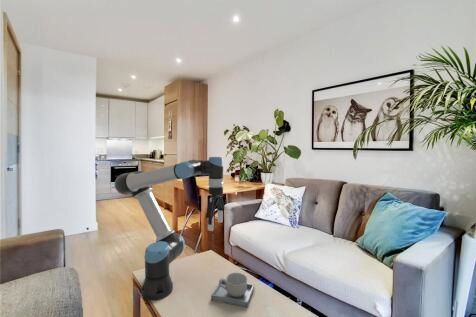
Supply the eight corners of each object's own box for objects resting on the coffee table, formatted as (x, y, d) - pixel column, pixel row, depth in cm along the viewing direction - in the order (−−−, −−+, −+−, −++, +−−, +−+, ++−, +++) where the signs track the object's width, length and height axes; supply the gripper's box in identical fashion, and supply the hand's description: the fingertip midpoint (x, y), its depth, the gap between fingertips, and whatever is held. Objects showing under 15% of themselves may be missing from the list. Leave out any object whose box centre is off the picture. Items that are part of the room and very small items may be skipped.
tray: (211, 300, 115) (211, 295, 115) (221, 283, 130) (221, 278, 130) (247, 307, 110) (247, 302, 110) (254, 289, 125) (254, 284, 125)
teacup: (248, 288, 124) (248, 273, 123) (245, 302, 113) (245, 285, 113) (222, 285, 127) (222, 270, 126) (216, 298, 116) (216, 282, 116)
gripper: (213, 191, 113) (213, 235, 114) (230, 183, 137) (229, 219, 138) (199, 190, 115) (198, 233, 116) (217, 182, 139) (217, 218, 140)
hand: (215, 226), depth 127 cm, fingers open, 13 cm apart
